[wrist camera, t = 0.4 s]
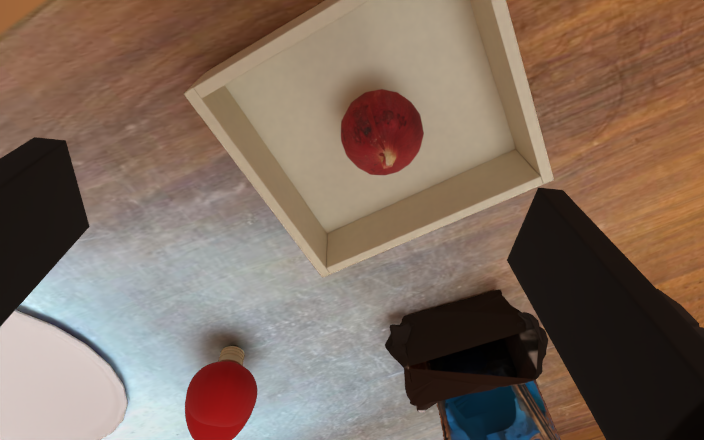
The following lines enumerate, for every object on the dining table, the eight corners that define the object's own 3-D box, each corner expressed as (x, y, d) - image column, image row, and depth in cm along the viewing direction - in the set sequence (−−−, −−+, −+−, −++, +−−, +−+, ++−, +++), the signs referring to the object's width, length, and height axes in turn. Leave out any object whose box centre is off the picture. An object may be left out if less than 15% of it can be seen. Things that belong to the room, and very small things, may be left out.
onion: (324, 109, 31) (321, 152, 25) (385, 60, 30) (400, 92, 23) (369, 162, 34) (377, 214, 27) (427, 121, 32) (451, 165, 26)
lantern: (423, 262, 49) (482, 383, 61) (344, 373, 41) (429, 488, 52) (569, 284, 37) (606, 429, 49) (499, 447, 29) (564, 575, 41)
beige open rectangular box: (457, -80, 25) (483, -86, 21) (525, 150, 34) (554, 180, 30) (205, 72, 30) (182, 93, 25) (323, 240, 39) (322, 278, 34)
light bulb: (256, 377, 50) (240, 462, 42) (198, 366, 49) (169, 452, 40) (273, 327, 45) (259, 412, 37) (209, 314, 44) (180, 399, 36)
